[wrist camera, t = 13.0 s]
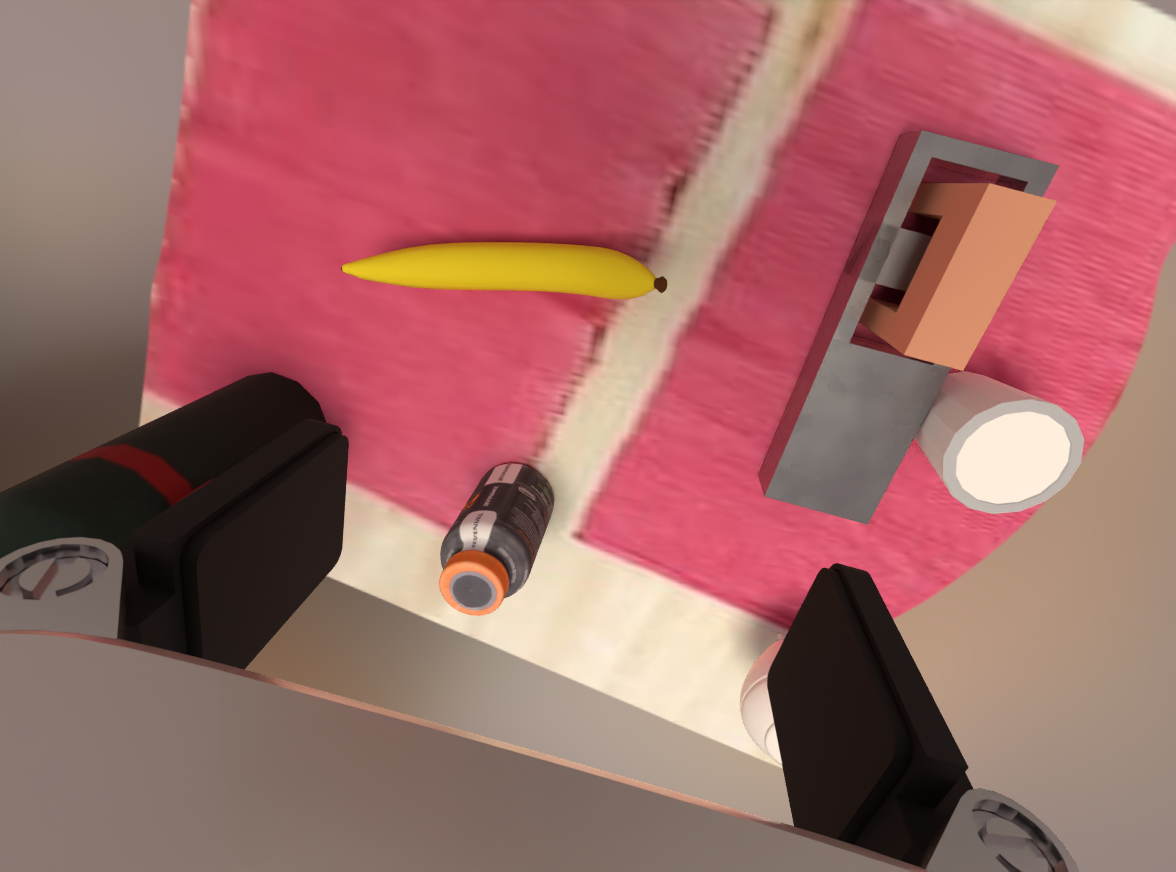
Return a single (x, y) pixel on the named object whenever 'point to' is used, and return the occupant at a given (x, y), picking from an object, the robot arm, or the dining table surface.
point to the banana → (512, 269)
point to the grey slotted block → (874, 346)
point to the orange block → (960, 269)
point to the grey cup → (998, 444)
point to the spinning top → (760, 703)
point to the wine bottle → (152, 465)
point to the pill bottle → (495, 539)
